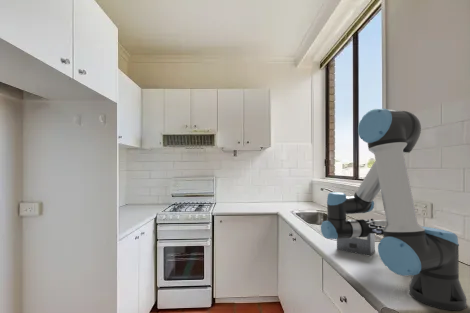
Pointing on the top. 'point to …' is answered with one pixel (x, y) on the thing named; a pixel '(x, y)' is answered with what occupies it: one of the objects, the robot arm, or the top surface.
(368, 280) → the top surface
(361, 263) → the top surface
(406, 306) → the top surface
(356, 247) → the power supply box
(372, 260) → the top surface
